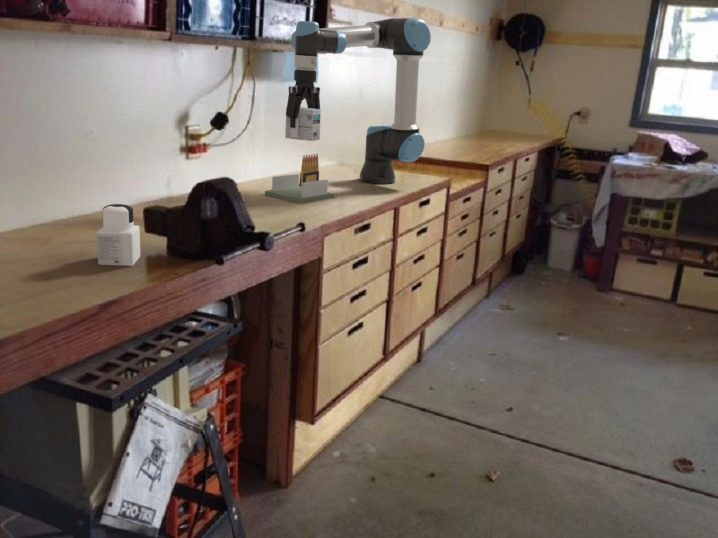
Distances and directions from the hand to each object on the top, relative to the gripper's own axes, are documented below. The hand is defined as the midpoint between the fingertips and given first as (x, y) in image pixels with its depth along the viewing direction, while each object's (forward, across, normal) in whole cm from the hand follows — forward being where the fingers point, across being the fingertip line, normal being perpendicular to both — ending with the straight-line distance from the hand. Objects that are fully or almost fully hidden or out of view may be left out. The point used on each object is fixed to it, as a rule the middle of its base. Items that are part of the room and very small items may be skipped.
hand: (302, 136), depth 236 cm
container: (+21, -92, -28) cm, 99 cm away
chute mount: (+21, 0, 0) cm, 21 cm away
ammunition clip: (+21, +21, +14) cm, 33 cm away
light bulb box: (+1, 0, 0) cm, 1 cm away
